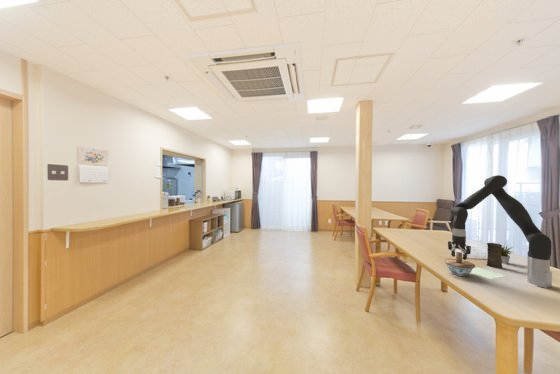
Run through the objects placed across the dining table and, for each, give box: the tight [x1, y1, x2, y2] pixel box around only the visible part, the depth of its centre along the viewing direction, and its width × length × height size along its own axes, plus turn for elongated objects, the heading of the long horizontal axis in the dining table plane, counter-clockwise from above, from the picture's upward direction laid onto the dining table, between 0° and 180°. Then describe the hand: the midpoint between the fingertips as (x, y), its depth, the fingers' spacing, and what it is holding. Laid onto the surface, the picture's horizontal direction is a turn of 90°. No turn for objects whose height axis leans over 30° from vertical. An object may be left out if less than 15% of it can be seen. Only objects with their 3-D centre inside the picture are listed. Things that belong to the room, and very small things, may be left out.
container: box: [486, 242, 503, 270], centre depth 167 cm, size 9×9×18 cm
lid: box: [443, 251, 476, 269], centre depth 153 cm, size 17×17×8 cm
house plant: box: [501, 243, 513, 265], centre depth 177 cm, size 14×14×16 cm
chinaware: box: [445, 263, 473, 277], centre depth 153 cm, size 15×15×8 cm
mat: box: [469, 266, 506, 280], centre depth 155 cm, size 17×17×1 cm
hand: (458, 257), depth 153 cm, fingers open, 6 cm apart
